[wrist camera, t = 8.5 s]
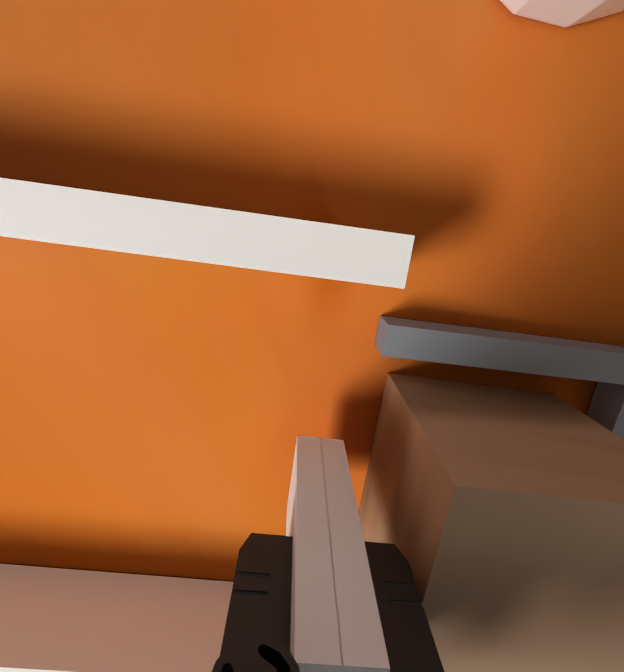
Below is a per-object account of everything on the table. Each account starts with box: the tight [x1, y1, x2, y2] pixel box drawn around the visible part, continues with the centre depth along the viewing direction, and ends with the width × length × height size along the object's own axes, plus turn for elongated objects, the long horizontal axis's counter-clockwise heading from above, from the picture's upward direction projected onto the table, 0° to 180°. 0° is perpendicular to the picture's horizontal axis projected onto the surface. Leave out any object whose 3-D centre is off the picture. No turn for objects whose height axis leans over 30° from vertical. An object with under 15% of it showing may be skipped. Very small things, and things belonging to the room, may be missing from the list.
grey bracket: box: [375, 316, 624, 440], centre depth 14 cm, size 10×9×1 cm
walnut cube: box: [358, 373, 624, 672], centre depth 11 cm, size 6×6×6 cm
